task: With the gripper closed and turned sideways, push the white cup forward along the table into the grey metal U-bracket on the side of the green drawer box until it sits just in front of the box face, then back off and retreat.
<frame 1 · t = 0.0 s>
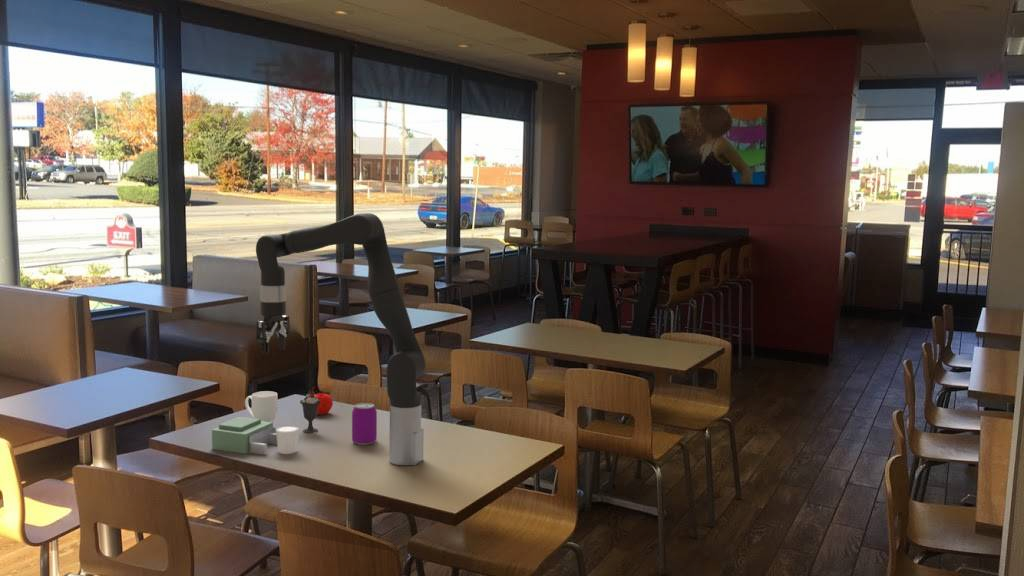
hand: (273, 351, 257), 29 cm above the table, fingers open, 8 cm apart
sundae: (310, 431, 275), on the table
chute bracket: (267, 440, 255), on the table
mug: (260, 427, 279), on the table
green drawer box: (243, 444, 258), on the table
white cup: (287, 451, 254), on the table
beverage can: (364, 442, 264), on the table
apple: (321, 414, 296), on the table
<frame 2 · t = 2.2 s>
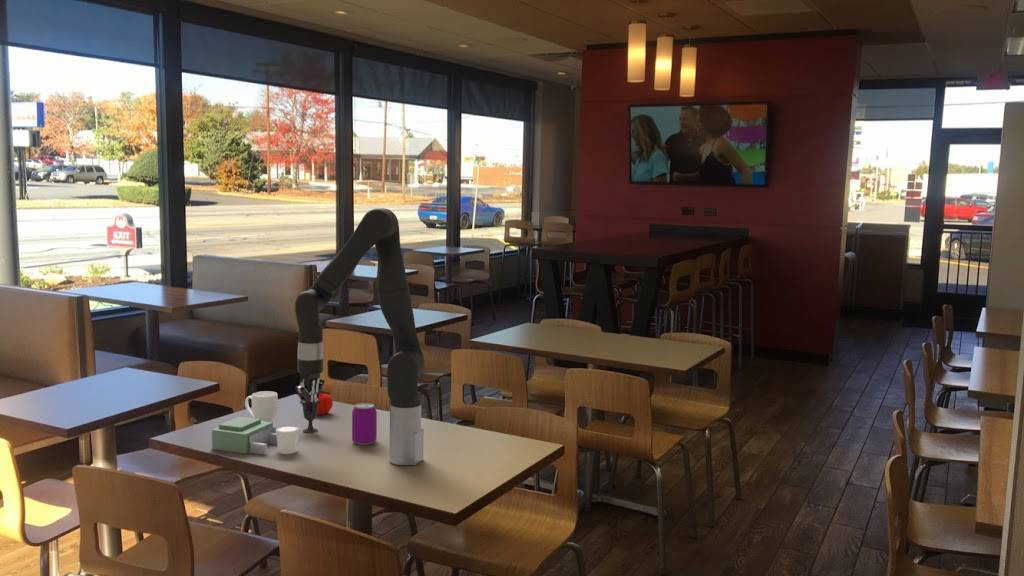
hand: (310, 413, 250), 13 cm above the table, fingers closed
nothing on the table moved.
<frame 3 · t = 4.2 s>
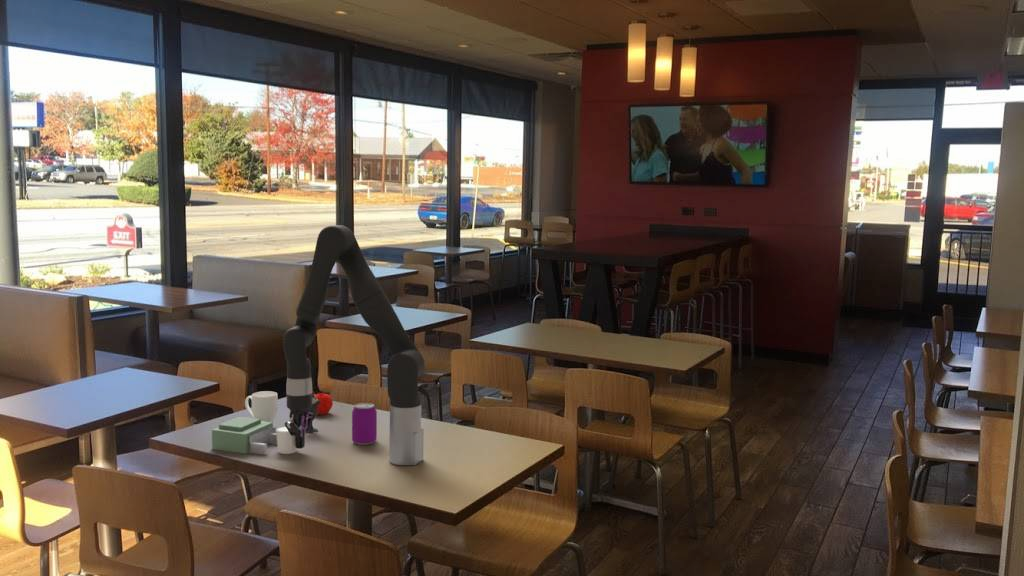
hand: (300, 447, 252), 2 cm above the table, fingers closed
nothing on the table moved.
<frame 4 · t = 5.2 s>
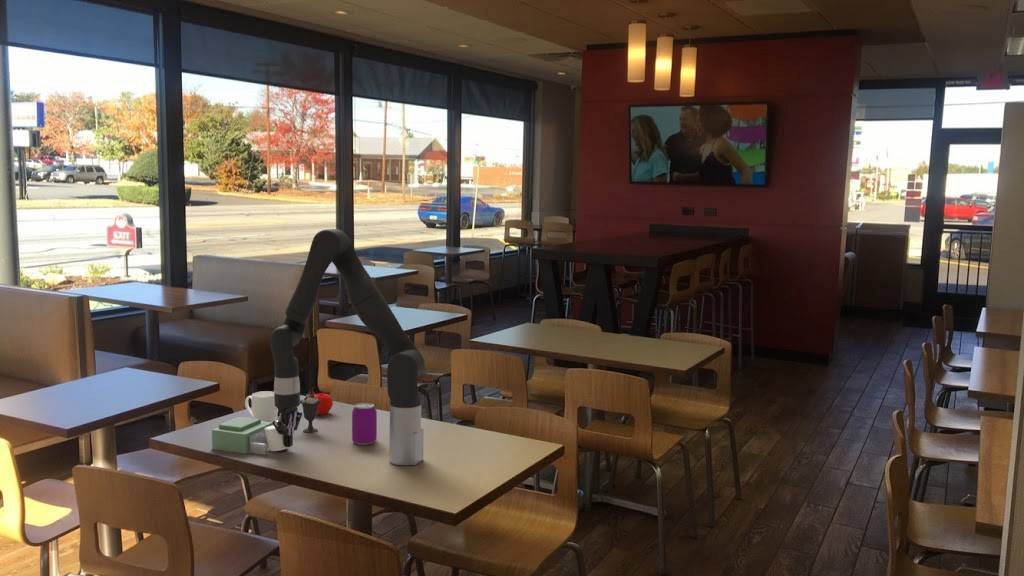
hand: (288, 446, 253), 1 cm above the table, fingers closed
white cup: (278, 449, 254), on the table, touching gripper
everything else where it was.
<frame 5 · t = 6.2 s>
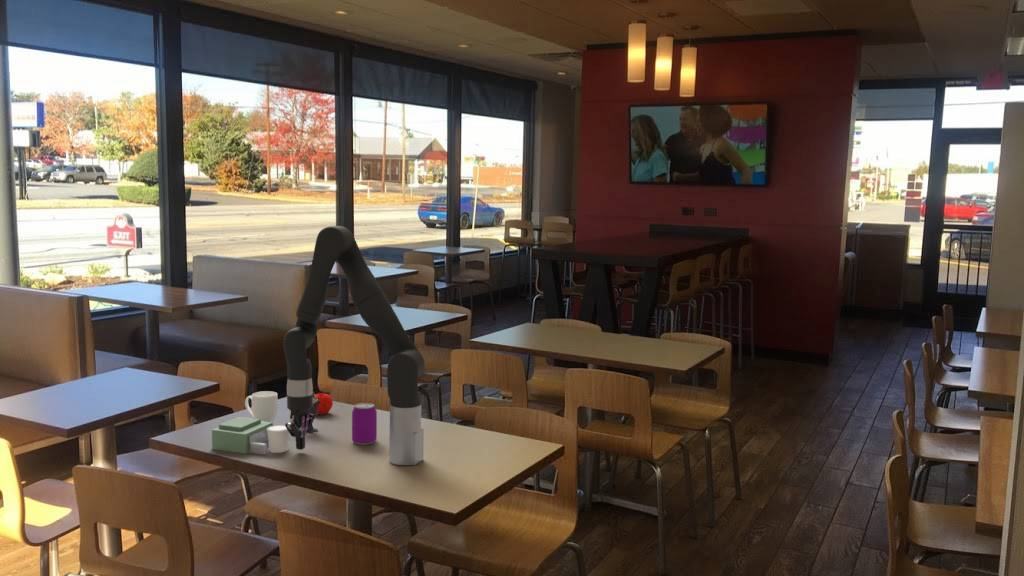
hand: (300, 448, 252), 1 cm above the table, fingers closed
white cup: (278, 450, 254), on the table
everything else where it was.
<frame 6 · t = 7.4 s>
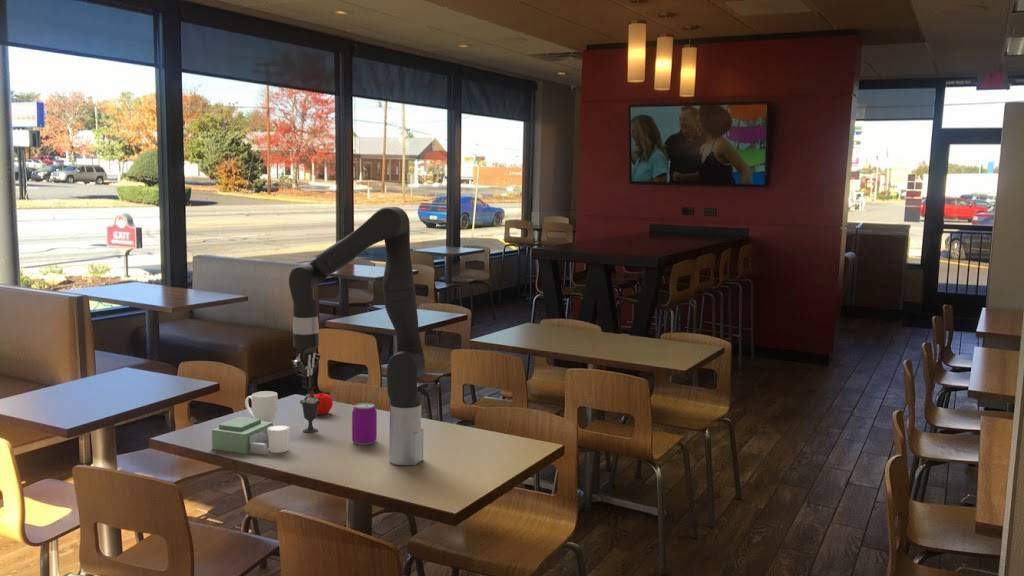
hand: (306, 387, 251), 20 cm above the table, fingers closed
nothing on the table moved.
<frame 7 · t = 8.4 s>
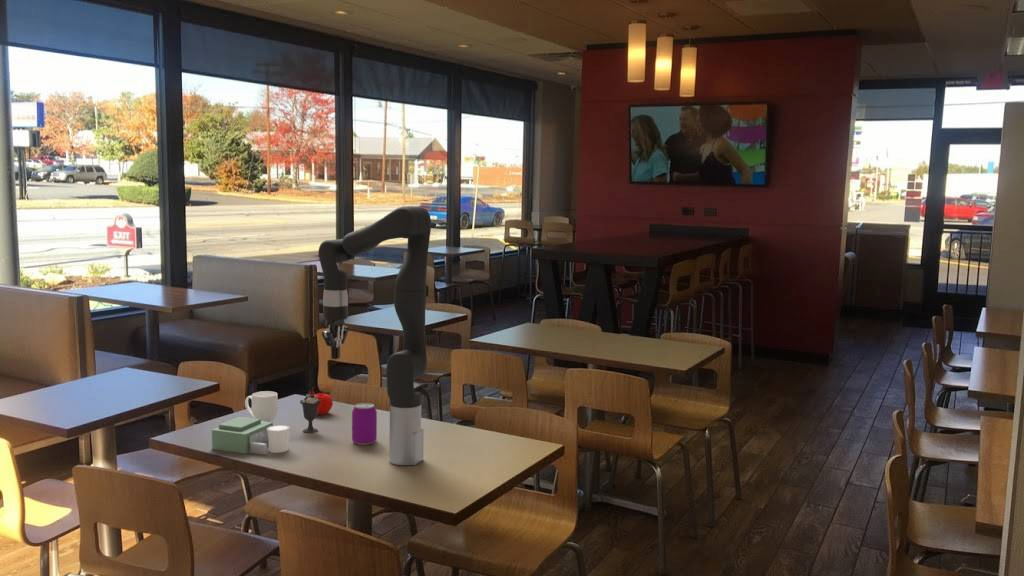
hand: (335, 358, 260), 27 cm above the table, fingers closed
nothing on the table moved.
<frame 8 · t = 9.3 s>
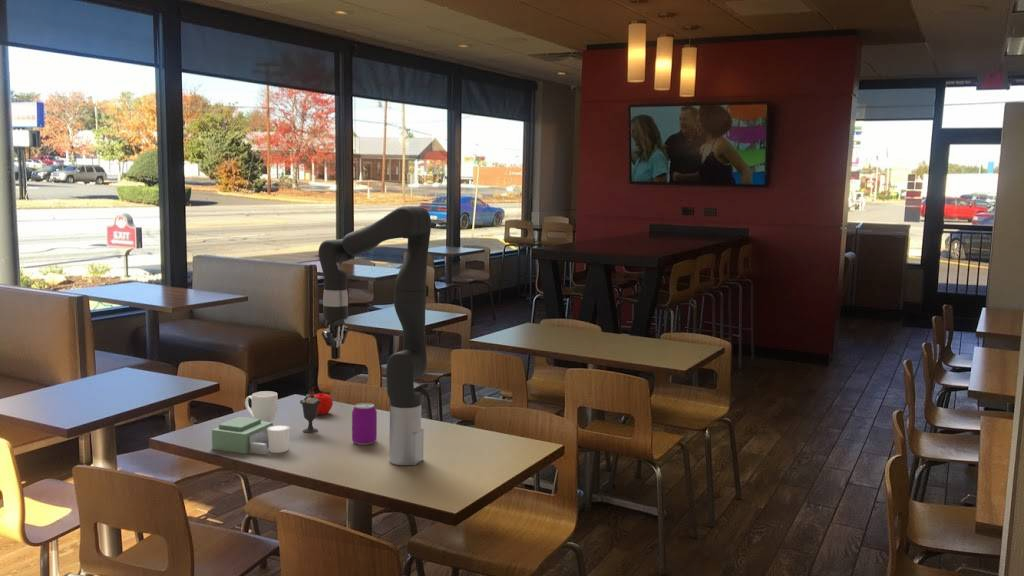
hand: (335, 358, 260), 27 cm above the table, fingers closed
nothing on the table moved.
at the end: white cup inside the target area (2.7 cm from its centre), on the table; white cup tilted 0° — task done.
